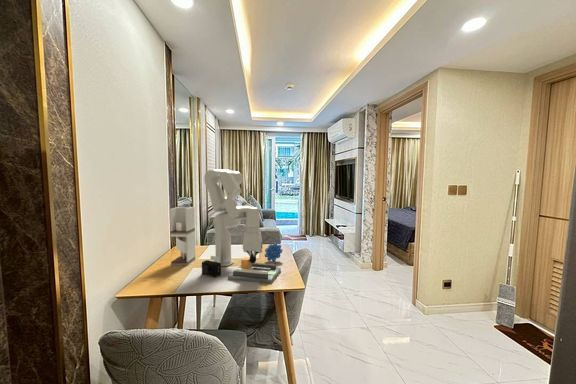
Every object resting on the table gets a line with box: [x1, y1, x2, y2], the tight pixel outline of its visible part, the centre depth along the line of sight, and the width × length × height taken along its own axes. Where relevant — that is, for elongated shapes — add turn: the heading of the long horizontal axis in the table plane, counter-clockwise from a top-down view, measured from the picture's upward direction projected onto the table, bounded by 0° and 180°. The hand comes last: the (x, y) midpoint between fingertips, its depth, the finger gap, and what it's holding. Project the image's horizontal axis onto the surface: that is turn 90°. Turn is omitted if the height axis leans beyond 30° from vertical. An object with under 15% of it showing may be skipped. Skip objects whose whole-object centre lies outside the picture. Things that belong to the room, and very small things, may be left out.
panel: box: [227, 265, 282, 284], centre depth 141 cm, size 24×18×3 cm
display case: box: [169, 206, 196, 266], centre depth 163 cm, size 11×11×35 cm
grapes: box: [264, 242, 283, 262], centre depth 167 cm, size 12×7×12 cm, turn 94°
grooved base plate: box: [232, 262, 277, 278], centre depth 141 cm, size 19×16×3 cm
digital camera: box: [201, 259, 222, 278], centre depth 141 cm, size 10×5×7 cm, turn 61°
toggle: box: [240, 256, 253, 270], centre depth 142 cm, size 6×5×7 cm
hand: (253, 262), depth 141 cm, fingers closed
